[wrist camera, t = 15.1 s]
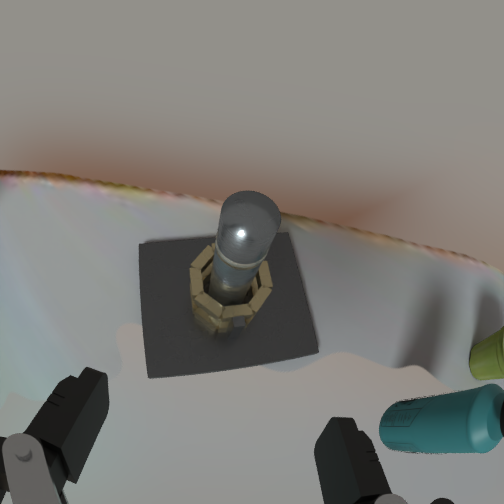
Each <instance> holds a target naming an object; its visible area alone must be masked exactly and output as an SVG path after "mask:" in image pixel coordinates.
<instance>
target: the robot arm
mask: <svg viewBox="0 0 504 504" xmlns="http://www.w3.org/2000/svg"><path fill="white" fill-rule="evenodd" d="M108 410H109V393H108V377H107V374H106V373H103V372H100V371H97V370H95V369H92V368H89V367H86V368H84V370H83V371H82V373H81V374H80V376H79V377H78V378H76V377H74V376H71V375H70V376H69V377H67V378H65V379H64V380H62V381H60V382H59V383H58V385H57V386H56V387H55V389H54V390H53V392H52V394H50V396H49V397H48V399H47V401H46V402H45V403H44V404H43V406H42V407H41V409H40V410H39V411H38V413H37V415H36V416H35V417H34V419H33V420H32V422H31V423H30V425H29V426H28V428H27V429H26V430H25V432H23V433H19V434H13V435H11V436H9V437H8V438H5V437H0V504H1V502H2V500H3V498H4V495H5V493H6V491H8V492H10V494H11V498H12V502H13V504H69V503H68V501H67V498H66V496H65V493H64V490H63V487H64V485H65V483H66V480H68V481H71V482H73V483H75V484H76V483H77V481H78V479H79V476H80V474H81V472H82V469H83V467H84V465H85V462H86V460H87V458H88V456H89V453H90V451H91V449H92V447H93V445H94V442H95V440H96V438H97V436H98V433H99V432H100V429H101V427H102V425H103V423H104V421H105V419H106V417H107V414H108ZM314 456H315V461H316V466H317V471H318V475H319V481H320V485H321V490H322V495H323V500H324V504H407V502H406V501H405V500H404V499H403V498H402V497H400V496H398V495H395V494H392V492H391V490H390V487H389V485H388V482H387V479H386V477H385V474H384V472H383V469H382V466H381V464H380V462H379V461H378V460H379V458H378V456H377V454H376V453H375V449H374V446H373V443H372V441H371V439H370V438H369V437H368V436H367V435H366V434H365V433H364V431H358V428H357V425H356V423H355V421H354V419H353V418H346V417H343V418H342V417H332V418H331V419H330V421H329V422H328V424H327V425H326V427H325V429H324V430H323V432H322V433H321V435H320V437H319V438H318V440H317V441H316V444H315V448H314ZM431 504H454V503H453V502H452V501H451V500H449V499H446V498H439V499H436V500H434V501H433V502H432V503H431Z"/></svg>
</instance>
